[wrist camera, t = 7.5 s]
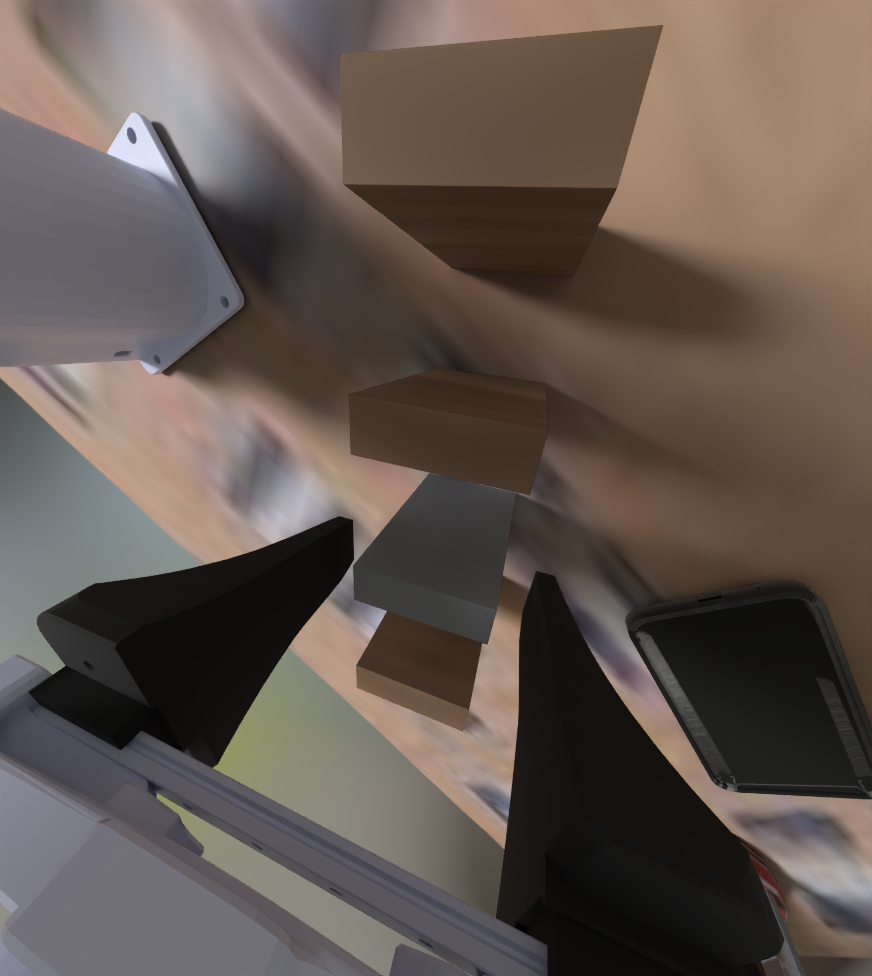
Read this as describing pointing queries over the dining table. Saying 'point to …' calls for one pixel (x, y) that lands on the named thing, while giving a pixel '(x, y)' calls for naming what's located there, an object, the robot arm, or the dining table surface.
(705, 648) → the phone
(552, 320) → the dining table surface
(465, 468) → the domino
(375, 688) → the domino
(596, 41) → the domino
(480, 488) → the domino
